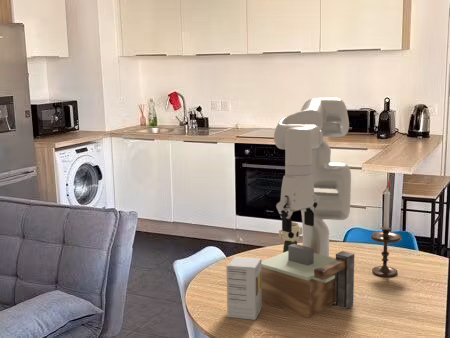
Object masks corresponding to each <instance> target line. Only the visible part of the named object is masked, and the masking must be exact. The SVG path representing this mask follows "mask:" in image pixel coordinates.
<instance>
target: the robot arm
mask: <svg viewBox="0 0 450 338" xmlns="http://www.w3.org/2000/svg"><path fill="white" fill-rule="evenodd" d="M349 128H350V121H349V115H348V110H347V106H346V103H345V102H344V100H342V99H341V98H338V97H313V98H310V99H308V100H306V101H305V102H304V103H303V105H302V107H301V109H300V111H296V112H294V113H292V114H289V115H287V116H284V117H283V118H281V119H280V120H279V121H278V123H277V125H276V127H275V128H274V129H275V130H274V133H273V141H274V144H275V146H276V147H277V148H278V149H280V150H285V151H284V152H285V157H284V158H285V161H284V163H285V164H284V166H285V167H284V168H285V170H284V172H285V174H284V175H283V177H282V182H281V190H280V200H279V202H277V203H276V205H275V207H276V209H277V210H276V211H278V212H277V213H278V214H279V216H280V218H281V230H282V231H285V232H289V233H290V232H292V222H293V221H292V219H293V218H291V217H292V215H293V213H294V212H297V211H298V212H299V211H300V212H301V213H300V214H301V224H302V246H306V247H310V248H314V253H316V254H320V255H324V256H328V257H330V256H329V255H330V229H329V227H328V226H327V224H326V222H325V221H324V220H331V221H334V220H335V221H344V220H347V219H348V218H349V215H350V213H351V192H352V190H351V189H352V173H351V168H350V166H349V165H348V164H347V163H343V162H331V156H332V155H331V154H332V153H331V152H332V150H331V147H330V145H329V144H328V142H327V141H326V140H325V139H324V137H333V138H336V137H338V138H339V137H344V136H346V135H347V134H348V132H349ZM315 189H323V190H335V191H336V192H327V191H326V192H325V191H324V192H323V191H322V192H321V191H315Z"/></svg>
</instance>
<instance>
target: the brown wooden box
mask: <svg viewBox="0 0 450 338" xmlns="http://www.w3.org/2000/svg"><path fill="white" fill-rule="evenodd" d="M339 258H342V259H346V268H345V269H343V270H341V271H339V272H337V273H335V274H333V275H335V278H334V279H332V280H330V281H328V282H326V283H325V282H321V281H318V280H314V279H310V280H304V279H301V278H297V277H294V276H291V275H287V274H284V273H281V272H277V271H274V270H270V269H267V268H264V267H261V282H262V303H265V304H268V305H270V306H273V307H276V308H279V309H282V310H285V311H288V312H290V313H294V314H296V315H299V316H302V317H303V318H304V317H305V318H310V317H312V316H314V315H315V314H317V313H319V312H321V311H323V310H324V309H326V308H329V307H330V306H331V305H333V304H334V307H338V308H342V309H345V310H348V309H349V308H351V307H353V306H354V295H355V293H354V292H355V291H354V290H355V289H354V288H355V253H353V252H348V251H345V250H342V251H339V252H337V253H335V259H336V260H337V259H339Z"/></svg>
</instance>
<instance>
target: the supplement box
mask: <svg viewBox="0 0 450 338" xmlns="http://www.w3.org/2000/svg"><path fill="white" fill-rule="evenodd" d="M261 261H262V258H260V257H246V256H244V257H243V256H233V258H232V259H231V260H230V262H228V264H227V265H225V266H226V268H225V269H226V270H225V271H226V307H227V308H226V309H227V312H226V313H227V317H228V318H235V319H245V320H254V321H256V320H257V318H258V316H259V314H260V312H261V311H262V307H263V305H262V303H263V302H262V282H261Z"/></svg>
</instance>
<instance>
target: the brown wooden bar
mask: <svg viewBox="0 0 450 338" xmlns="http://www.w3.org/2000/svg"><path fill="white" fill-rule="evenodd" d="M345 268H346V259H342V258H339V259H337V260H335V261H333V262H331V263H329V264H327V265H324V266H322V267H320V268H316V269H314V277H315V278H318V279H322V280H324V279H326V278H327V277H329V276H331V275H333V274H335V273H337V272H339V271H341V270H343V269H345Z"/></svg>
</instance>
